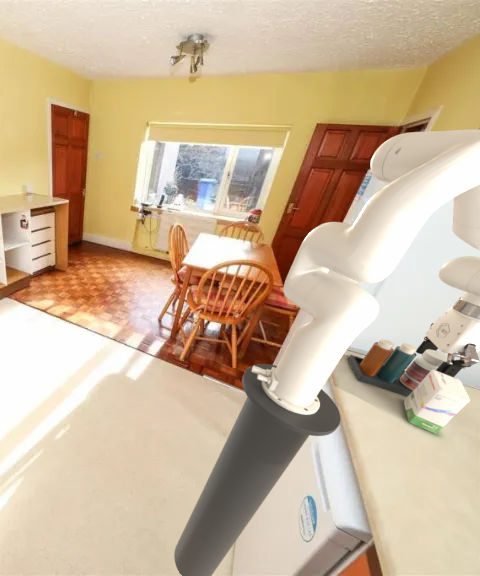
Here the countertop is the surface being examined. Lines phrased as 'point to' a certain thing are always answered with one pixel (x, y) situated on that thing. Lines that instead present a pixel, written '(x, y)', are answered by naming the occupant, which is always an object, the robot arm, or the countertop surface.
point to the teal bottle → (397, 362)
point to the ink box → (435, 401)
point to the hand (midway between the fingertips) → (432, 364)
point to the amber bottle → (376, 357)
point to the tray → (377, 378)
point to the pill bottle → (422, 368)
